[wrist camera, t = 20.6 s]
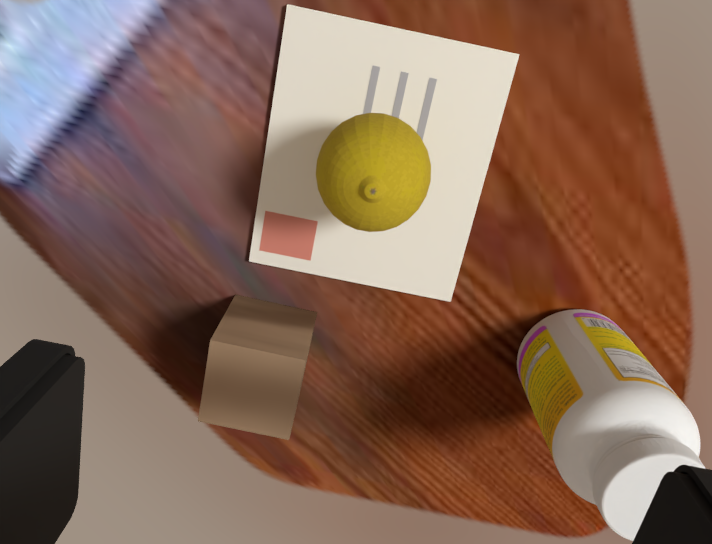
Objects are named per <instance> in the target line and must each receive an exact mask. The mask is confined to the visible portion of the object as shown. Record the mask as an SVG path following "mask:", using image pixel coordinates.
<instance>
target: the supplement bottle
mask: <svg viewBox="0 0 712 544" xmlns="http://www.w3.org/2000/svg"><path fill="white" fill-rule="evenodd" d="M517 370H518V375H519V378H520V381H521V384H522V386H523V389H524V391H525V393H526V396H527V398H528V401H529V403H530V405H531V408H532V410H533V413H534V415H535V417H536V419H537V422H538V424H539V426H540V429H541V431H542V434H543V436H544V438H545V441H546V443H547V445H548V448H549V450H550V452H551V455H552V457H553V460H554V462H555V464H556V467H557V469H558V471H559V473H560V475H561V476H562V478H563V480H564V481H565V482H566V484H567V485H568V486H569V487H570V488H571V489H572V490H573V491H574V492H575V493H576V494H577V495H579V496H580V497H582V498H583V499H585V500H587V501H588V502H591V503H593V504H595V505H597V507H598V509H599V511H600V513H601V514H602V516H603V518H604V520H605V522H606V523H607V524H608V526H609V527H610V528H611V529H612V530H613V531H614V532H616V533H617V534H619V535H620V536H622V537H624V538H626V539H629V540H631V541H634V539H635V536H636V534H637V532H638V530H639V528H640V525H641V523H642V521H643V519H644V517H645V515H646V512H647V510H648V508H649V506H650V504H651V502H652V499H653V497H654V495H655V493H656V491H657V489H658V486H659V484H660V482H661V480H662V478H663V476H664V475H665V474H666V473H667V472H671V471H672V472H674V470H675V469H676V468H677V467H678V466H680V465H689V466H694V467H699V468H704V469H706V468H705V467H704V465H703V464H702V462H701V461H700V459H699V453H700V435H699V431H698V427H697V424H696V422H695V420H694V418H693V416H692V414H691V413H690V411H689V410H688V408H687V407H686V406H685V405H684V403H683V402H682V401H681V400H680V398H679V397H678V396H677V395H676V394H675V392H674V391H673V390H672V389H671V388H670V387H669V385H668V384H667V383H666V382H665V381H664V379H663V378H662V377H661V376H660V375H659V373H658V372H657V371H656V370H655V369H654V367H653V366H652V365H651V364H650V363H649V361H648V360H647V359H646V358H645V356H644V355H643V354H642V353H641V352H640V351H639V349H638V348H637V347H636V346H635V344H634V343H633V342H632V341H631V340H630V339H629V337H628V336H627V335H626V334H625V333H624V332H623V330H622V329H621V328H620V327H619V326H618V325H617V324H615V323H614V322H613V321H612V320H610V319H609V318H608V317H606V316H604V315H602V314H599V313H597V312H593V311H589V310H583V309H573V310H565V311H561V312H557V313H555V314H552V315H550V316H548V317H546V318H544V319H543V320H541V321H540V322H538V323H537V324H536V325H535V326H533V328H532V329H531V330H530V331H529V332H528V333H527V334H526V336H525V337H524V339H523V341H522V343H521V345H520V348H519V351H518V356H517Z"/></svg>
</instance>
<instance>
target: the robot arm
mask: <svg viewBox="0 0 712 544" xmlns="http://www.w3.org/2000/svg"><path fill="white" fill-rule="evenodd" d="M84 374H85V362H84V359H82V358H81V357H76V356H75V352H74V349H73V348H72V346H68V345H63V344H58V343H52V342H48V341H42V340H37V339H33V340H31V341H30V342H28V343H27V344H26V345H25V346H23V347H22V348H21V349H20V350H19V351H18V352H17V353H15V354H14V355H13V356H12V357H11V358H10V359H9V360H7V361H6V362H5V363H4V364H3V365H2V366H1V367H0V544H55V542H56V541H57V539H58V537H59V536H60V534H61V533H62V531H63V530H64V528H65V527H66V525H67V523H68V522H69V520H70V518H71V516H72V514H73V512H74V509H75V506H76V503H77V498H78V487H79V469H80V450H81V429H82V411H83V392H84ZM632 544H712V470H709V469H704V468H699V467H694V466H689V465H680V466H678V467H677V468H676V469H675V470H674V472H672V471H671V472H667V473H666V474H665V475H664V476H663V478H662V480H661V482H660V484H659V486H658V489H657V491H656V493H655V495H654V497H653V499H652V502H651V504H650V506H649V508H648V510H647V512H646V515H645V517H644V519H643V521H642V523H641V525H640V528H639V530H638V532H637V534H636V536H635V539H634V541H633V543H632Z"/></svg>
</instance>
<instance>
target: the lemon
mask: <svg viewBox="0 0 712 544" xmlns="http://www.w3.org/2000/svg"><path fill="white" fill-rule="evenodd" d="M316 180H317V186H318V191H319V193H320V195H321V198H322V200H323V202H324V204H325V205H326V207H327V208H328V209H329V211H330V212H331V213H332V214H333V216H335V217H336V218H337V219H338V220H340V221H341V222H342V223H344V224H345V225H347V226H350V227H352V228H354V229H356V230H362V231H367V232H378V231H386V230H389V229H392V228H395V227H397V226H399V225H401V224H402V223H404V222H405V221H407V220H408V219H410V218H411V216H412V215H413V214H414V213H415V212H416V211H417V210H418V209H419V208H420V206H421V204H422V203H423V201H424V199H425V198H426V196H427V192H428V189H429V185H430V181H431V163H430V159H429V154H428V150H427V148H426V147H425V145H424V143H423V141H422V139H421V137H420V136H419V135H418V134H417V133H416V132H415V130H414V129H413V128H412V127H411V126H410V125H408V124H407V123H405V122H403V121H402V120H400V119H399V118H397V117H393V116H390V115H387V114H384V113H366V114H361V115H356V116H354V117H352V118H350V119H348V120H346V121H344V122H342V123H341V124H340V125H338V126H337V127H336V128H335V129H334V130H333V131H331V133H330V134H329V136H328V137H327V139H326V140H325V141H324V143H323V144H322V147H321V150H320V152H319V155H318V158H317V165H316Z"/></svg>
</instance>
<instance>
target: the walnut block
mask: <svg viewBox="0 0 712 544" xmlns="http://www.w3.org/2000/svg"><path fill="white" fill-rule="evenodd" d="M316 316H317V312H314V311H309V310H305V309H300V308H295V307H291V306H286V305H281V304H277V303H272V302H267V301H263V300H258V299H253V298H249V297H244V296H240V295H235V296H234V298H233V300H232V302H231V304H230V305H229V307H228V309H227V311H226V313H225V314H224V316H223V318H222V320H221V322H220V323H219V325H218V327H217V329H216V331H215V332H214V334H213V336H212V338H211V340H210V345H209V351H208V358H207V365H206V371H205V378H204V384H203V391H202V397H201V404H200V410H199V417H198V421H200V422H205V423H209V424H214V425H219V426H224V427H229V428H234V429H238V430H243V431H248V432H253V433H258V434H263V435H268V436H272V437H277V438H282V439H287V440H289V438H290V434H291V429H292V425H293V420H294V416H295V411H296V407H297V403H298V398H299V394H300V389H301V385H302V380H303V376H304V371H305V366H306V362H307V357H308V353H309V348H310V343H311V339H312V334H313V330H314V325H315V320H316Z"/></svg>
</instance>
